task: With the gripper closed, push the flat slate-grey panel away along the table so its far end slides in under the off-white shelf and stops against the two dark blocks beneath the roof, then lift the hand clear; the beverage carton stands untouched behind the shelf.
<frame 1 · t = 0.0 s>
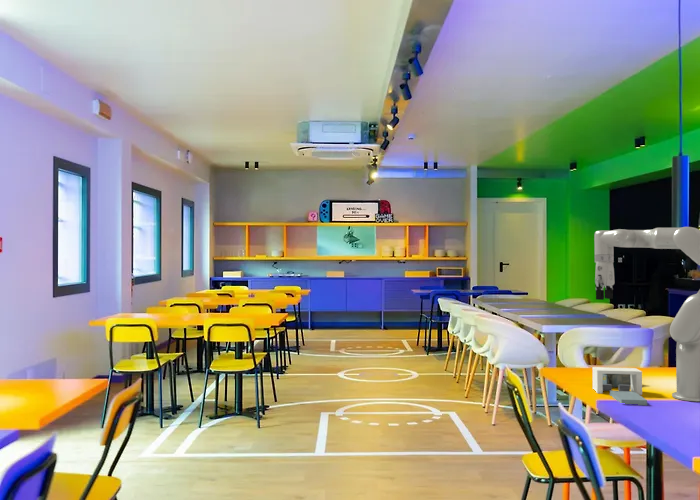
hand: (604, 299, 257), 37 cm above the table, tool pointing down, fingers open, 9 cm apart
panel: (627, 401, 231), on the table
beverage carton: (614, 385, 260), on the table
shelf: (616, 391, 246), on the table
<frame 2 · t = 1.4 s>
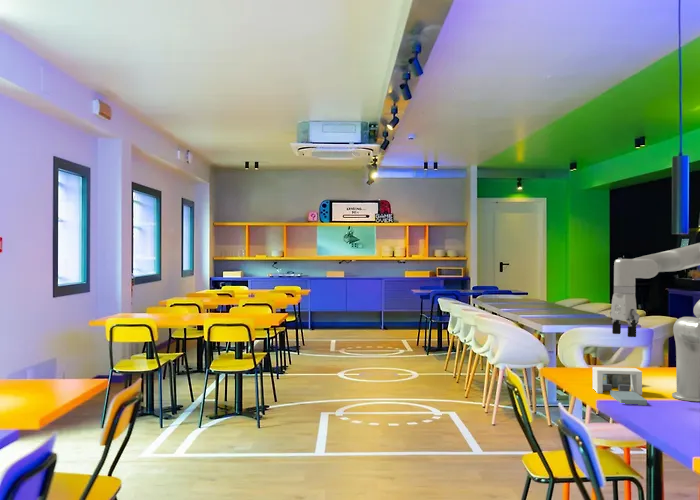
hand: (624, 335, 231), 25 cm above the table, tool pointing down, fingers open, 9 cm apart
nothing on the table moved.
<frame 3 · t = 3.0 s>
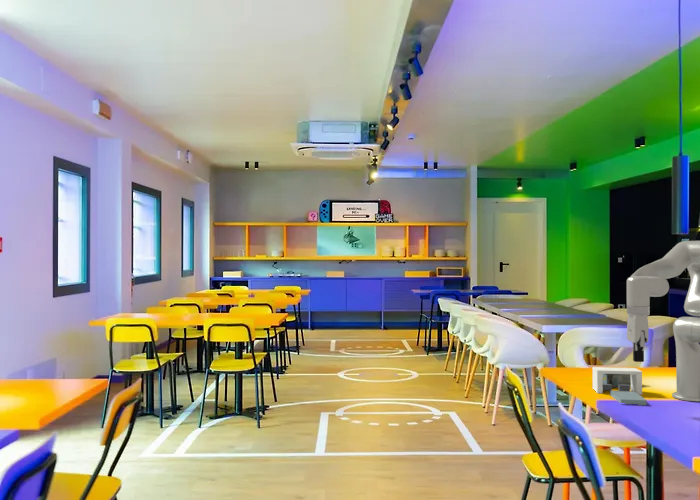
hand: (638, 361, 218), 17 cm above the table, tool pointing down, fingers closed
nothing on the table moved.
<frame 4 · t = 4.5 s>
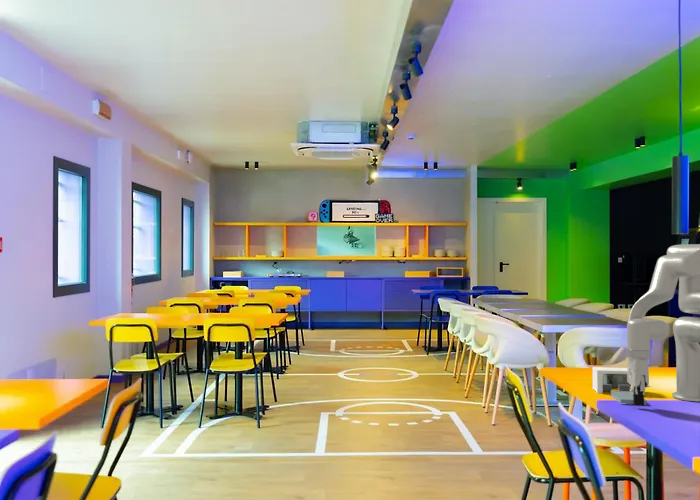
hand: (638, 405, 217), 1 cm above the table, tool pointing down, fingers closed
nothing on the table moved.
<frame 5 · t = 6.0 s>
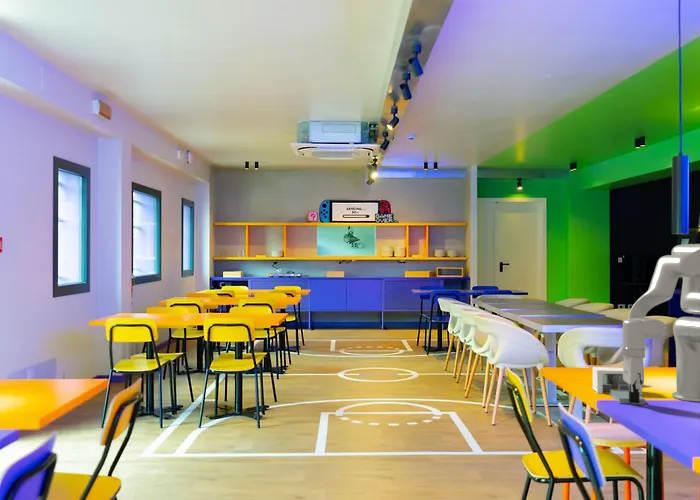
hand: (634, 402, 223), 1 cm above the table, tool pointing down, fingers closed
panel: (626, 400, 232), on the table, touching gripper
everything else where it was.
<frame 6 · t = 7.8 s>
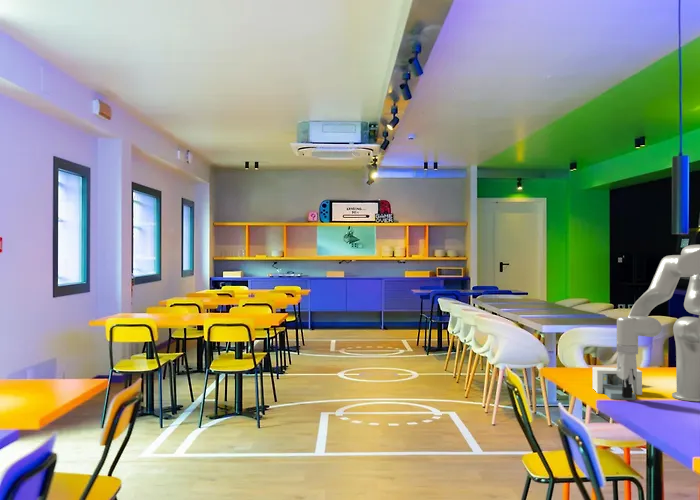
hand: (627, 397, 230), 1 cm above the table, tool pointing down, fingers closed
panel: (617, 395, 240), on the table, touching gripper, shelf
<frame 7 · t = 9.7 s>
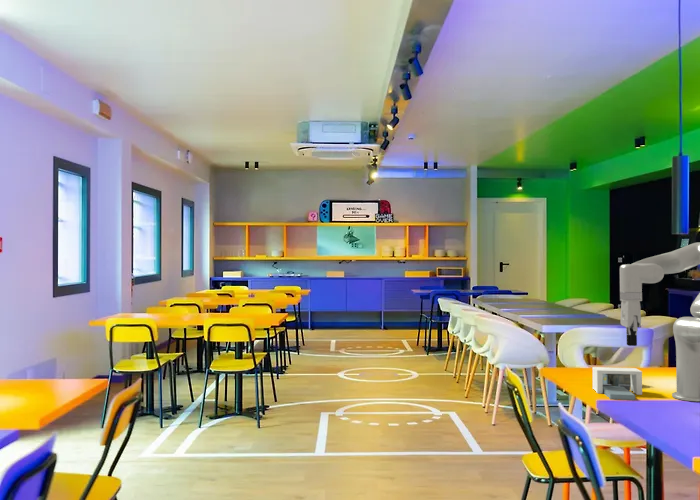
hand: (631, 345, 226), 22 cm above the table, tool pointing down, fingers closed
panel: (617, 396, 240), on the table
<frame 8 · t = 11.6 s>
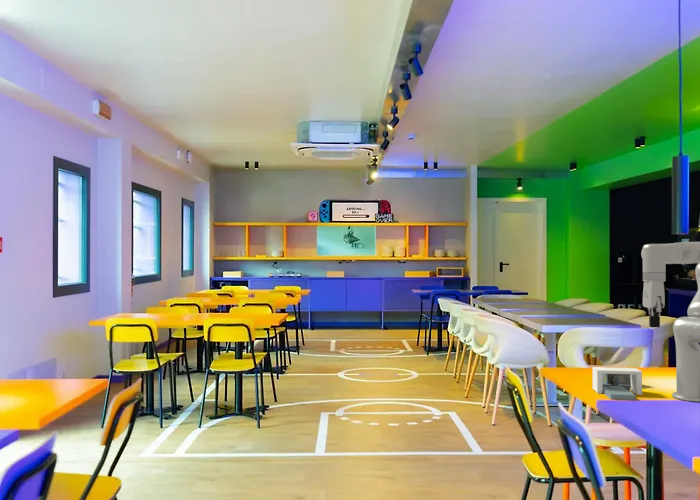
hand: (654, 327, 221), 29 cm above the table, tool pointing down, fingers closed
at the end: panel 2.1 cm from the target spot on the table beside the shelf, on the table; panel tilted 0° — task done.
